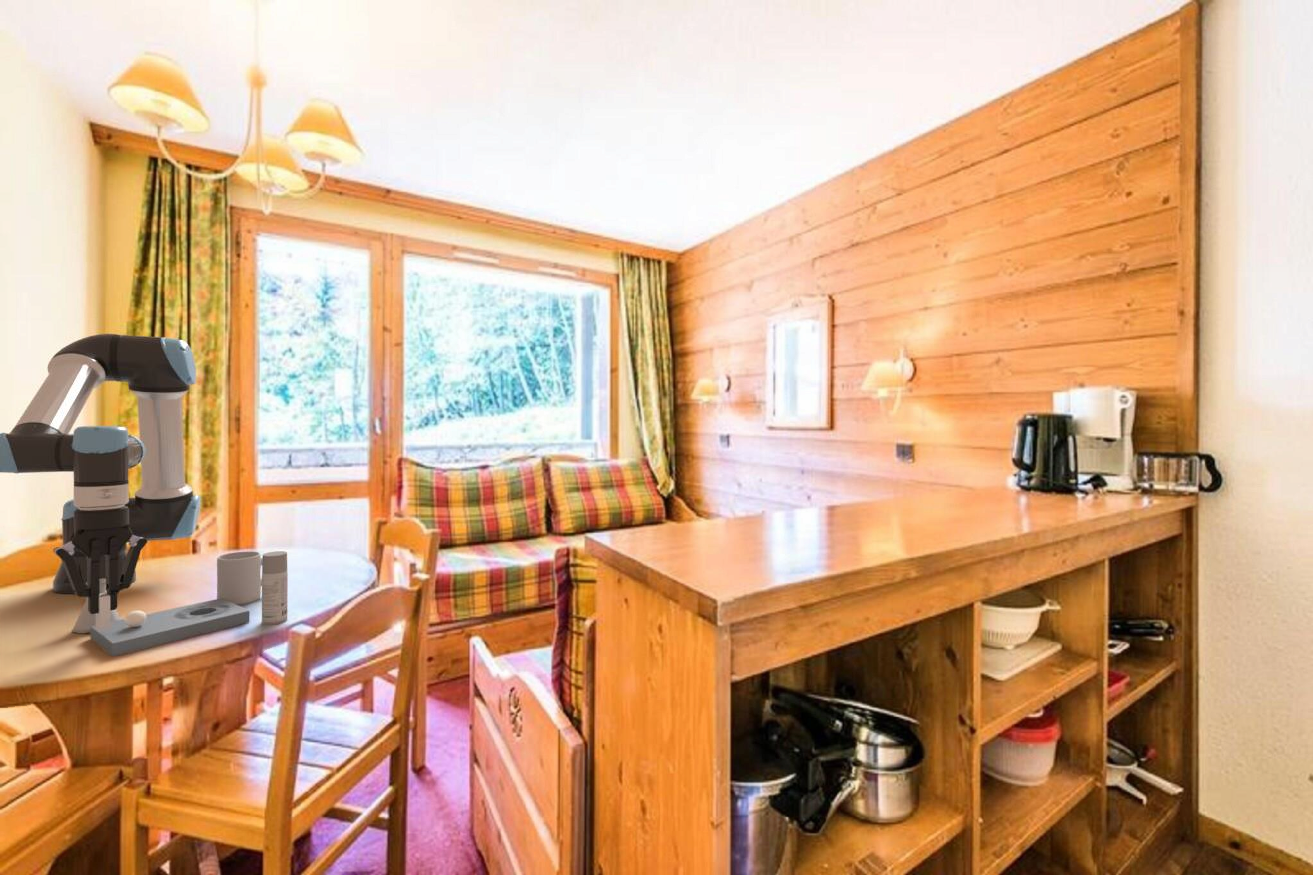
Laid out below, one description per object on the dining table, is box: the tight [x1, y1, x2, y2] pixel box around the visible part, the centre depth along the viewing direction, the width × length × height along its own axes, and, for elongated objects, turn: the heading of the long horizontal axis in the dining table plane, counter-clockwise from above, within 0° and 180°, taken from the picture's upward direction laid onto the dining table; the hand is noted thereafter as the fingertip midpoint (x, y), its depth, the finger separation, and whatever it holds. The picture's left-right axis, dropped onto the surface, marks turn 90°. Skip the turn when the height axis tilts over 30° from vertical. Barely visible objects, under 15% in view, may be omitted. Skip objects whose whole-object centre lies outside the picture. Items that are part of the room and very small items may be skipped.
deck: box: [90, 598, 250, 658], centre depth 117 cm, size 14×22×2 cm, turn 147°
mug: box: [216, 550, 263, 606], centre depth 137 cm, size 12×8×11 cm
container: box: [261, 550, 289, 626], centre depth 123 cm, size 5×5×15 cm
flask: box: [71, 579, 123, 634], centre depth 117 cm, size 7×7×10 cm
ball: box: [124, 610, 147, 627], centre depth 112 cm, size 3×3×3 cm
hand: (103, 628), depth 108 cm, fingers closed
